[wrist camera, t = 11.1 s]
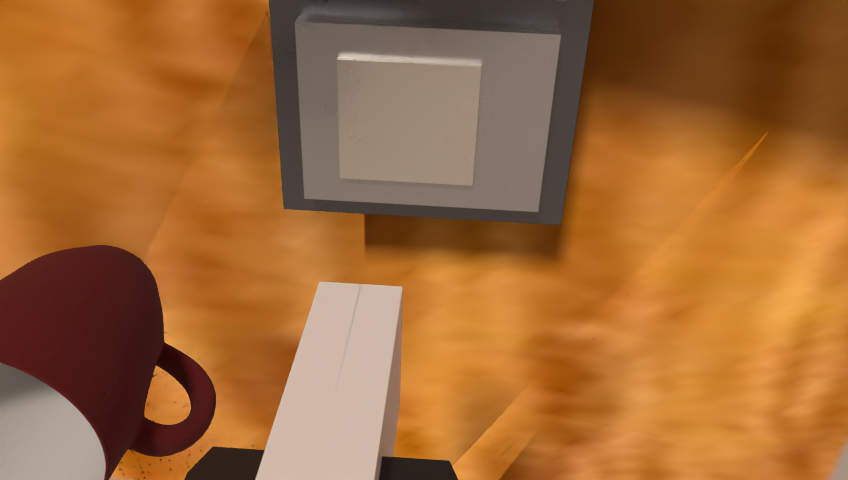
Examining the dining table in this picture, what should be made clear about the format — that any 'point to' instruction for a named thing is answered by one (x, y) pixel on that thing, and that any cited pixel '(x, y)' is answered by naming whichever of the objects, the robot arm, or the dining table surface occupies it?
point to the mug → (87, 367)
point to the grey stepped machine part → (429, 105)
